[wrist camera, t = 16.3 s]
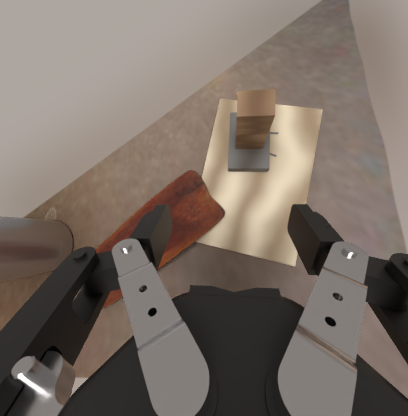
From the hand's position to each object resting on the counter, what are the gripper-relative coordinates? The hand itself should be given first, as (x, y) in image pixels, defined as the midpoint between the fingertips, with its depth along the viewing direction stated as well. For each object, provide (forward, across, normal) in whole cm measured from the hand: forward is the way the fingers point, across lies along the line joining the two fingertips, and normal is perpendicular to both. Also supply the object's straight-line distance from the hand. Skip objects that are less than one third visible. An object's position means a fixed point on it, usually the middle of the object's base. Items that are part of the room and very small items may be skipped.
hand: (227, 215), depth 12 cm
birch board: (+18, -5, +5) cm, 19 cm away
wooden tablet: (+12, +13, +13) cm, 22 cm away
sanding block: (+20, -4, 0) cm, 21 cm away
